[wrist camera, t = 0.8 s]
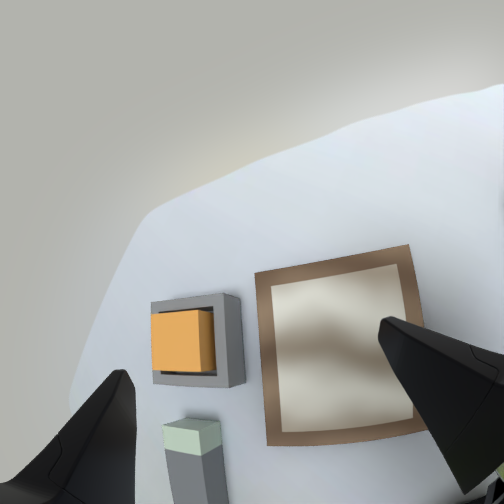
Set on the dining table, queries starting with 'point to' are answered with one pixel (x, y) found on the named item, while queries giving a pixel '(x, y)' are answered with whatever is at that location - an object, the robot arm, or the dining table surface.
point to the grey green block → (195, 461)
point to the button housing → (225, 342)
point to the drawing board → (335, 349)
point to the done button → (183, 341)
